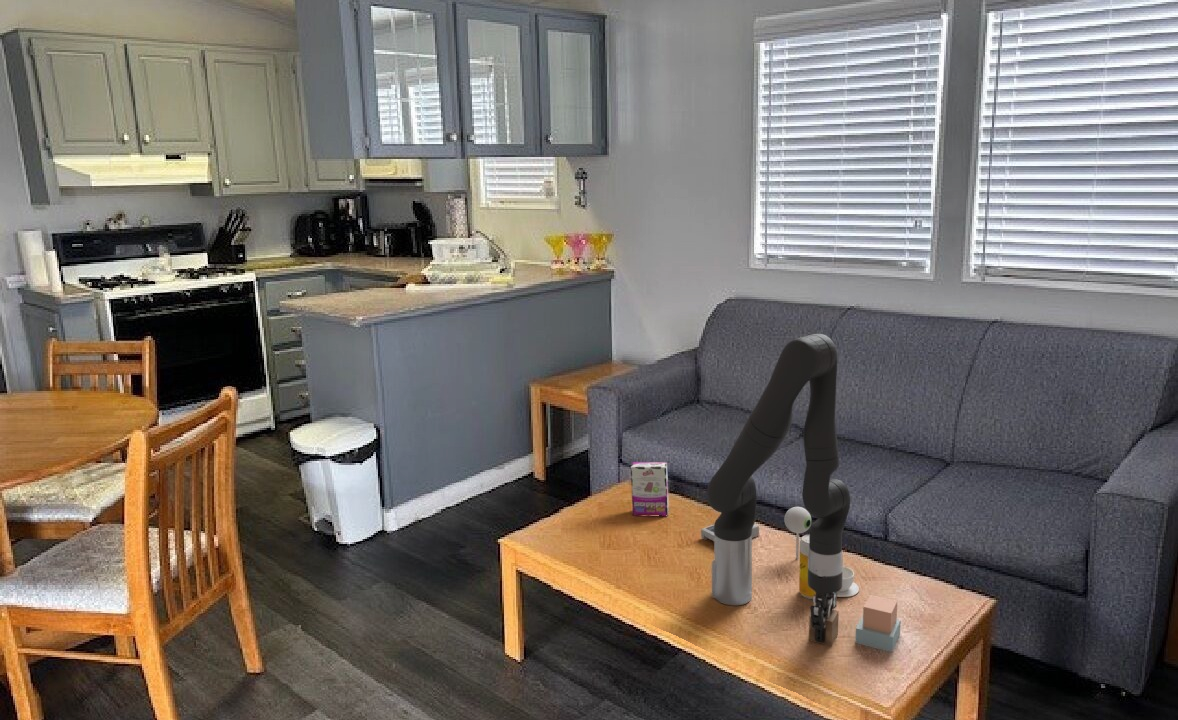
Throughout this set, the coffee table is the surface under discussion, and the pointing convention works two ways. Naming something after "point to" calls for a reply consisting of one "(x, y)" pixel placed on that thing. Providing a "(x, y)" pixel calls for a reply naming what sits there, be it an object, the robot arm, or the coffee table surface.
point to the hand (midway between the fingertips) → (823, 634)
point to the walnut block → (827, 628)
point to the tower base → (877, 636)
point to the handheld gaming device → (709, 532)
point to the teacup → (848, 584)
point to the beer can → (804, 569)
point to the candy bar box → (649, 488)
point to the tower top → (880, 614)
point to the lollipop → (797, 523)
